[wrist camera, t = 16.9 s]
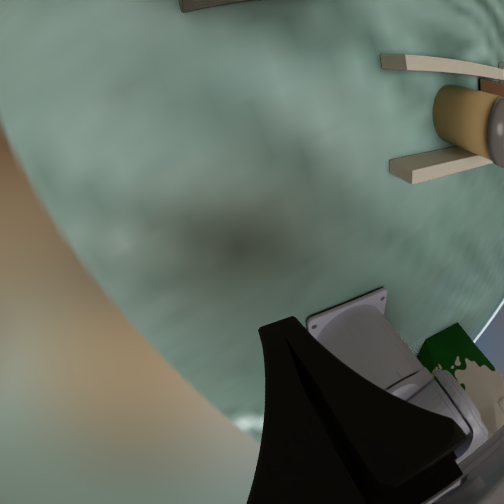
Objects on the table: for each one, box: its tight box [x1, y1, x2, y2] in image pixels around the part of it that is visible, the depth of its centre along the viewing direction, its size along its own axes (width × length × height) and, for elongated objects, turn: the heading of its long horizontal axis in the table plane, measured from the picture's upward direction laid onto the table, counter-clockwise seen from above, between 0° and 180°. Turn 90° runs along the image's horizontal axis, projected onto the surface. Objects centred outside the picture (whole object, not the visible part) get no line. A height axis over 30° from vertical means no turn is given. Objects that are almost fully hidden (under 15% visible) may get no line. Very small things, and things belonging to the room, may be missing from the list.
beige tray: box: [380, 54, 504, 185], centre depth 16 cm, size 10×18×6 cm, turn 102°
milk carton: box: [417, 323, 504, 438], centre depth 28 cm, size 9×9×20 cm
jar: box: [433, 85, 504, 168], centre depth 16 cm, size 5×5×6 cm
